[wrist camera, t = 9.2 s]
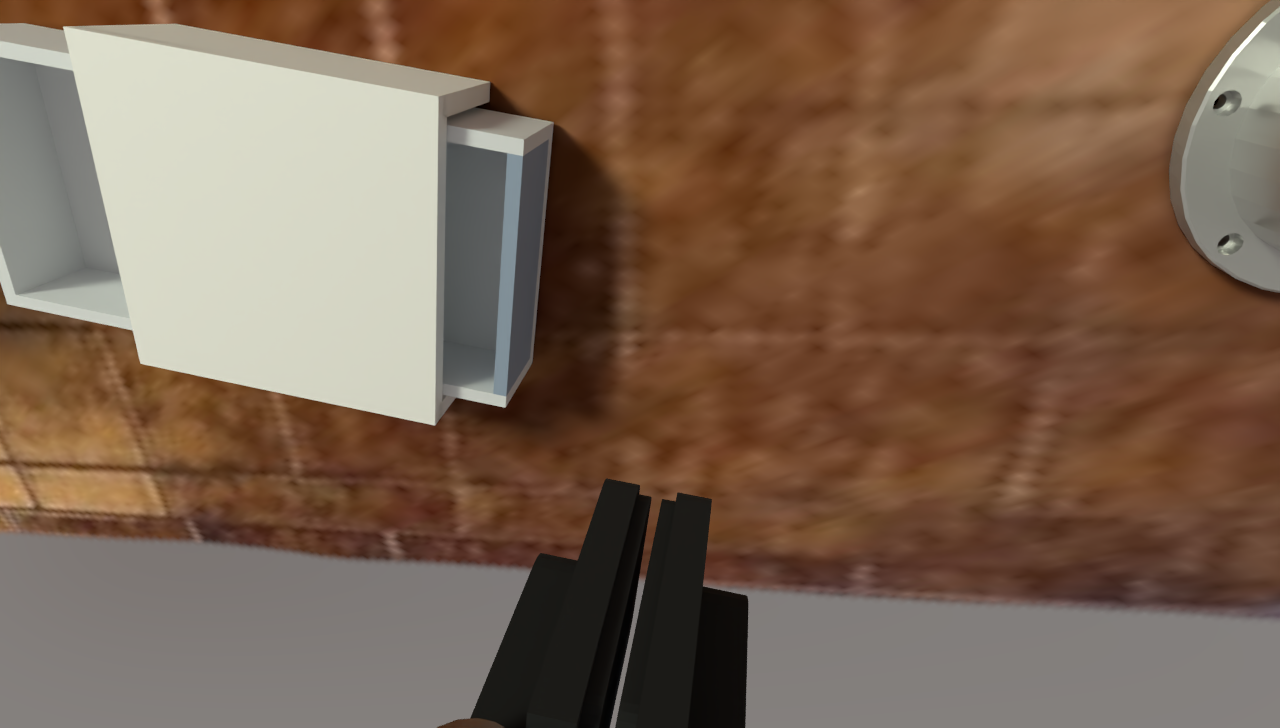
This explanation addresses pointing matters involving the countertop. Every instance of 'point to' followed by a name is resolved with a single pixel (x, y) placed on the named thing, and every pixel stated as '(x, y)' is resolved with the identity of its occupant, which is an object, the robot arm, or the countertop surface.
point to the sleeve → (276, 210)
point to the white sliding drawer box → (87, 266)
